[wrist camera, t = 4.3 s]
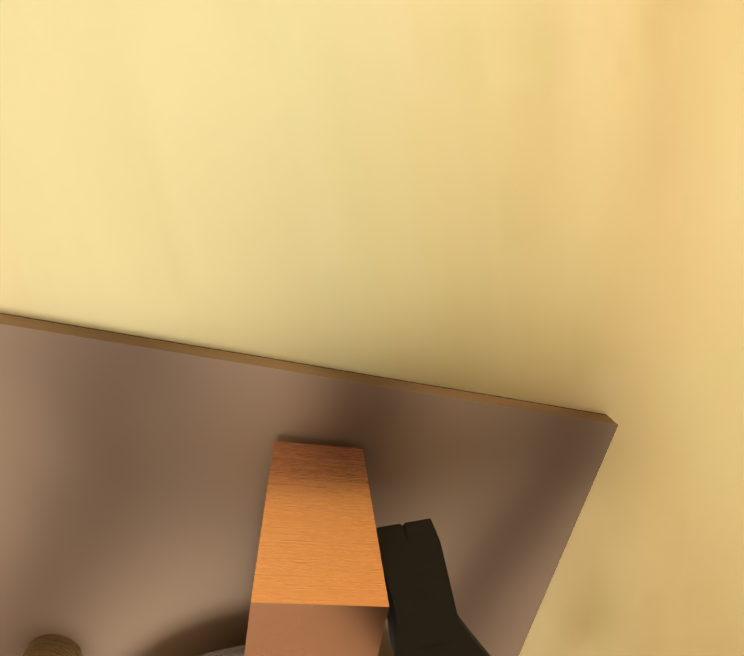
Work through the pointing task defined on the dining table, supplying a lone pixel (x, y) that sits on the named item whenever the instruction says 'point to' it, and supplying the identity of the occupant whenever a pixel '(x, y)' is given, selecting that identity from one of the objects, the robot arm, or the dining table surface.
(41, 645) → the dowel
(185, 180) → the dining table surface
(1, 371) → the board
